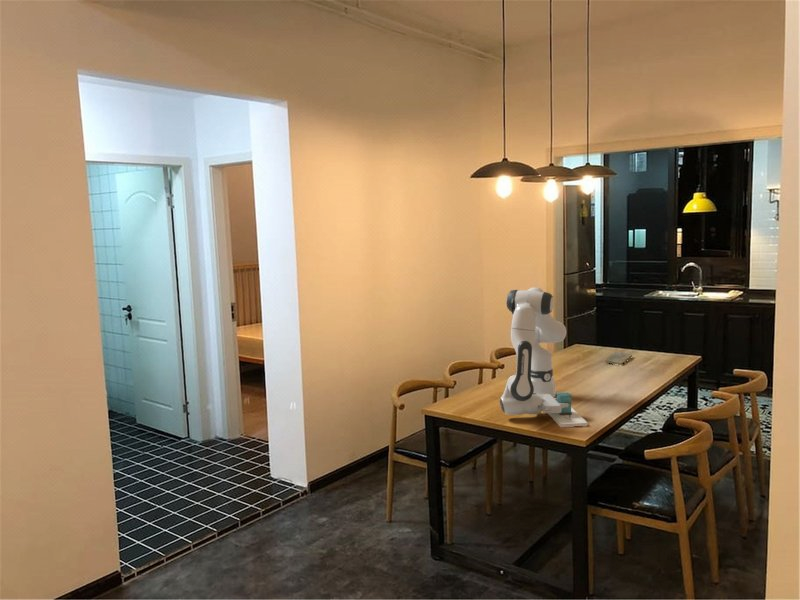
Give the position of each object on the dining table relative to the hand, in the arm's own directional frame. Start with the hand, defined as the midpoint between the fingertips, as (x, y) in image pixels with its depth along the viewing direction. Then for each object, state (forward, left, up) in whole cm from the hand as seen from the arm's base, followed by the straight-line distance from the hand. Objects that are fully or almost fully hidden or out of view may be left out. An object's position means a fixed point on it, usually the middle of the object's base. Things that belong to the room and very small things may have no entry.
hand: (566, 402), depth 291 cm
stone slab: (-84, +100, -7) cm, 131 cm away
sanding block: (0, -1, -5) cm, 5 cm away
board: (+3, -2, -6) cm, 7 cm away
